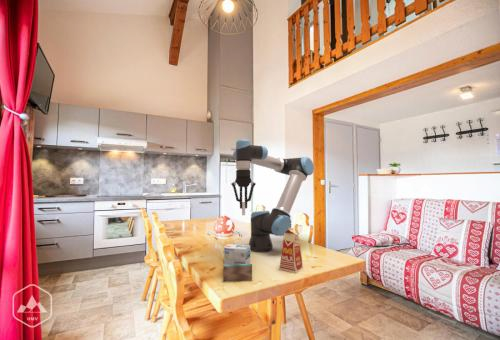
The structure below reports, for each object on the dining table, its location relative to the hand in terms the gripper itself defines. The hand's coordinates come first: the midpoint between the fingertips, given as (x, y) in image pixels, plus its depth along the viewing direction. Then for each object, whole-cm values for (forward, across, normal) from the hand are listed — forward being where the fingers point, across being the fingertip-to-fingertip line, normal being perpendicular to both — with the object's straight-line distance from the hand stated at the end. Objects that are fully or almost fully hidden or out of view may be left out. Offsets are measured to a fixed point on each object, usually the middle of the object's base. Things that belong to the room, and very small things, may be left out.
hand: (243, 214), depth 128 cm
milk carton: (+25, -22, +11) cm, 35 cm away
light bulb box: (+23, +4, +16) cm, 28 cm away
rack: (+24, +4, +9) cm, 26 cm away
